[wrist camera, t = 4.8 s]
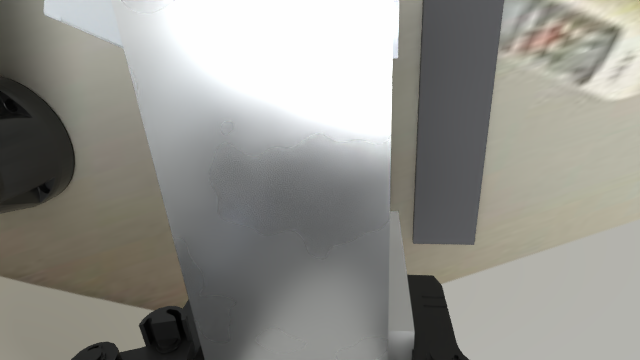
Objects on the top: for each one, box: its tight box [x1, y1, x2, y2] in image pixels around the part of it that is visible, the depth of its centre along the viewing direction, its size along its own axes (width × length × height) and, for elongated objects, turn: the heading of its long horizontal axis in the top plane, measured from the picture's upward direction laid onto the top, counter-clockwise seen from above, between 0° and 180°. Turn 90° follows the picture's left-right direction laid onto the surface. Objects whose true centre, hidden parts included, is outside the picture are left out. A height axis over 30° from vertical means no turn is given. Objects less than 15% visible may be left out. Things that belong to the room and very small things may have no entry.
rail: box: [111, 0, 393, 360], centre depth 12 cm, size 4×26×6 cm, turn 4°
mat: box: [413, 0, 504, 245], centre depth 35 cm, size 6×27×1 cm, turn 4°
